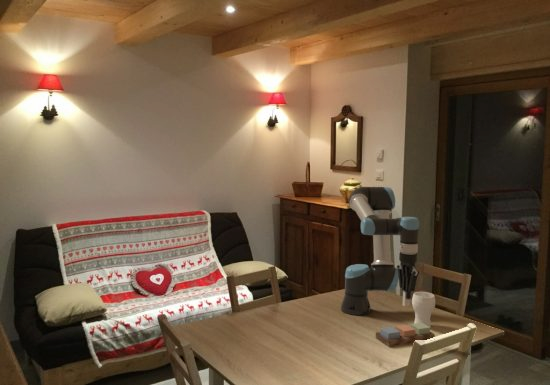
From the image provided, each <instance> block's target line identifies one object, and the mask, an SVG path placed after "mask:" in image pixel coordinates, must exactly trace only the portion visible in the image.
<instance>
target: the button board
mask: <svg viewBox="0 0 550 385" xmlns="http://www.w3.org/2000/svg"><path fill="white" fill-rule="evenodd" d="M435 335H436V334H435V333H433V332H431V331H430V333H429V334H423V335H418V334H416V333H415V336H409V337H402V336H400V338H396V339H390V340H387V339H386V338H384V337H383V336H381V335H380V331H377V332H375V339H376V340H378V341H379V342H381V343H382V344H383V345H385V346H386V347H388V348H391V347H397V346H403V345H410V344H414V343H413V342H414V341H415V340H427V339H430V338H433V337H436V336H435Z"/></svg>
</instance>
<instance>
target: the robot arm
mask: <svg viewBox="0 0 550 385" xmlns="http://www.w3.org/2000/svg"><path fill="white" fill-rule="evenodd" d="M348 205H349V207H350V208H351V209H352V211H354V212H355V213H356V215H357V216H358V218H359V219H360V232H361V234H362V235H365V236H372V238H373V239H372V240H373V242H372V244H373V262H372V263H370V265H371V266H370V267H369V265H368V264H362V263H358V264H357V263H356V264H351V265H349V266H347V267H346V269H345V274H344V296H343V299H342V301H341V303H340V311H342V312H343V313H344V314H345V313H346V314H348V315H351V316H352V315H353V316H364V315H368V314H370V313H371V303H370V300H369V297H368V296H369V295H368V294H369V292H374V291H375V292H389V291H390V292H391V291H395V290H396V289H397V287H399V288H400V289H401V290H402V306H403V307H409V306H410V305H411V304H410V303H411V299H412V298H411V295H412V292H415V289H416V285H417V280H418V276H419V274H420V271H419V270H416V263H417V262H418V254H417V253H418V251H419V250H418V249H419V248H418V247H419V228H420V222H419V218H418V217H415V216H402V217H395V218H390V214H391V213H392V211H393V210H394V209H395V207H396V196H395V193H394V190H393V189H392V188H391V187H388V186H360V187H357V188H355V189H354V190H352V192H351V193H350V195H349V197H348ZM391 236H399V256H398V257H399V258H398V259H399V262H400V264H397V266H396V267H395V264H394V263H393V262H392V258H391V256H392V255H391V254H392V252H391ZM398 285H399V286H398Z"/></svg>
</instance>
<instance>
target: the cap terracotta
mask: <svg viewBox="0 0 550 385" xmlns="http://www.w3.org/2000/svg"><path fill="white" fill-rule="evenodd" d="M395 329H396V330H398V331H400V336H402V337H409V336H415V329H413V328H412V327H411V325H409V324H404V325H403V324H402V325H395Z"/></svg>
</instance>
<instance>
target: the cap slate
mask: <svg viewBox="0 0 550 385" xmlns="http://www.w3.org/2000/svg"><path fill="white" fill-rule="evenodd" d="M379 332H380V335H381V336H383V337H384V338H386V339H387V340H390V339H396V338H400V331H398V330H396V327H395V328H394V327H393V326H389V327H381V328H380V329H379Z"/></svg>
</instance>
